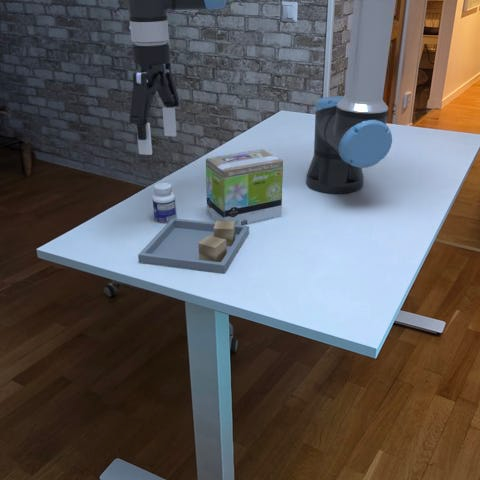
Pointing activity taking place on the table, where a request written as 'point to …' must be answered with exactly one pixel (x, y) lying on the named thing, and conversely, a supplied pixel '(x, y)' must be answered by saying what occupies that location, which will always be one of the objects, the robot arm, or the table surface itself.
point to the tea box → (244, 187)
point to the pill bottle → (164, 203)
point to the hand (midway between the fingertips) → (158, 144)
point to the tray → (189, 246)
